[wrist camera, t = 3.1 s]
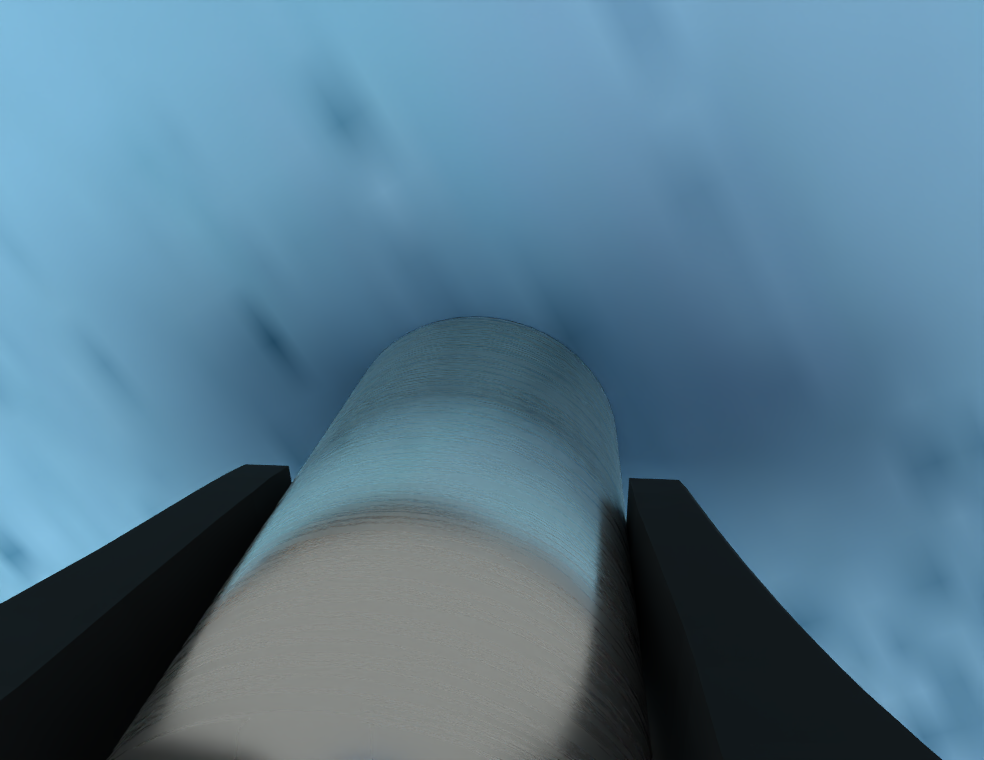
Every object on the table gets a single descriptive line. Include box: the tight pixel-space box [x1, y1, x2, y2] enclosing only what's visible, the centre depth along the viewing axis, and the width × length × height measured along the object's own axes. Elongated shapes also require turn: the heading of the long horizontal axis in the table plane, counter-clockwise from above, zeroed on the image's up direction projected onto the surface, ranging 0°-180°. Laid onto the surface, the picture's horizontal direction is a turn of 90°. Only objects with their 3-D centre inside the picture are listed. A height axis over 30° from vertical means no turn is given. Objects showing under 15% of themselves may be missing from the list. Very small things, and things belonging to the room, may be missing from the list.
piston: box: [107, 317, 653, 760], centre depth 8 cm, size 4×4×7 cm
